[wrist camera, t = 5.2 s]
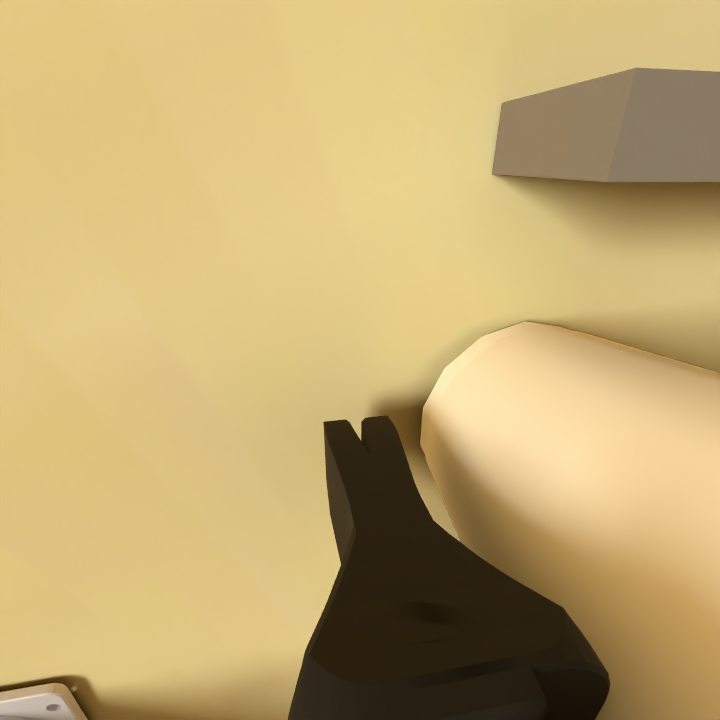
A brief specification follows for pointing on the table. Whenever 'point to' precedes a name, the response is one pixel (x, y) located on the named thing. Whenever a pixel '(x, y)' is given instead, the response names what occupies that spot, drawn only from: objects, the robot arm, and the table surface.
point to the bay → (616, 129)
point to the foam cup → (594, 499)
